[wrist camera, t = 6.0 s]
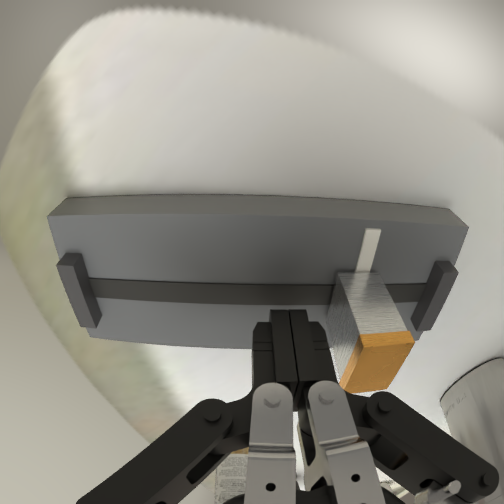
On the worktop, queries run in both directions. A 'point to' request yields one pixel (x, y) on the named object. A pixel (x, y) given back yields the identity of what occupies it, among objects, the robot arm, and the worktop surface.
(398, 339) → the fader knob
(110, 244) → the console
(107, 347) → the worktop surface
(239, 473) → the sprinkles bottle
